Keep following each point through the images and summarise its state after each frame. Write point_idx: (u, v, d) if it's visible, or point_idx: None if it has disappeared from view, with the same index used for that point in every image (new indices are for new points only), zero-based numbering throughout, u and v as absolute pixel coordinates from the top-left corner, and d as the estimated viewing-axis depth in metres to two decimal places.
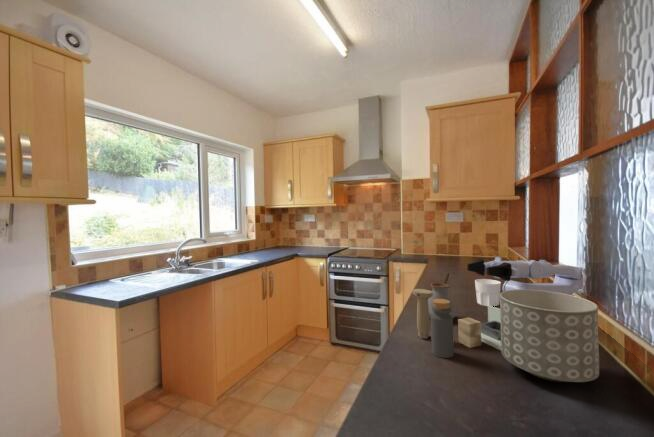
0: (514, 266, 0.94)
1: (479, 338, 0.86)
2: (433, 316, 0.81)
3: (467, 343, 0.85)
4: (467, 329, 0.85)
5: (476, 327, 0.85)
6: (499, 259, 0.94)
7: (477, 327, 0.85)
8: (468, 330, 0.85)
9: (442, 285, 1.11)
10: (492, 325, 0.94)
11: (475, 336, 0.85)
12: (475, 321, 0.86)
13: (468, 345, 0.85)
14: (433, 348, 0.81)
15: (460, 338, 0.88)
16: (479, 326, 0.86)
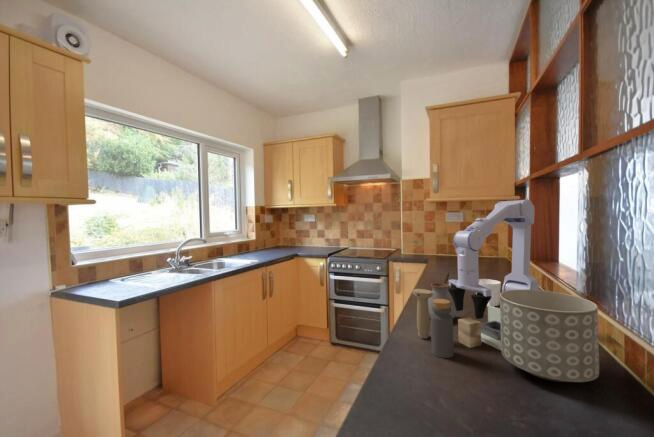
0: (471, 273, 0.84)
1: (479, 338, 0.86)
2: (433, 316, 0.81)
3: (467, 343, 0.85)
4: (467, 329, 0.85)
5: (476, 327, 0.85)
6: (461, 287, 0.85)
7: (477, 327, 0.85)
8: (468, 330, 0.85)
9: (442, 285, 1.11)
10: (492, 325, 0.94)
11: (475, 336, 0.85)
12: (475, 321, 0.86)
13: (468, 345, 0.85)
14: (433, 348, 0.81)
15: (460, 338, 0.88)
16: (479, 326, 0.86)
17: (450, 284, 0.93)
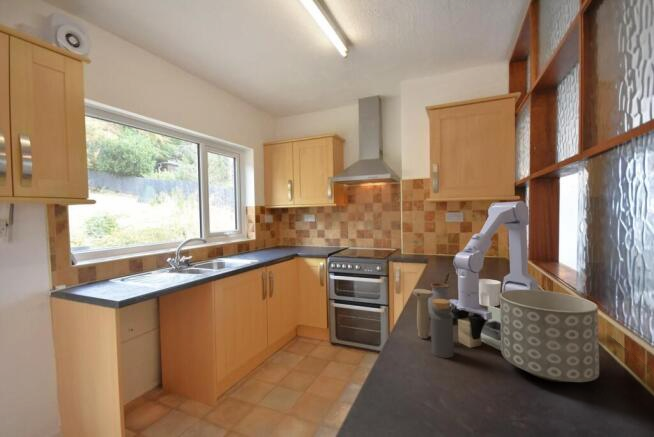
0: (471, 295, 0.84)
1: None
2: (433, 316, 0.81)
3: (467, 343, 0.85)
4: (467, 328, 0.85)
5: None
6: (461, 309, 0.85)
7: None
8: (468, 330, 0.85)
9: (442, 285, 1.11)
10: (492, 325, 0.94)
11: None
12: None
13: (468, 345, 0.85)
14: (433, 348, 0.81)
15: (460, 338, 0.88)
16: None
17: (450, 304, 0.93)
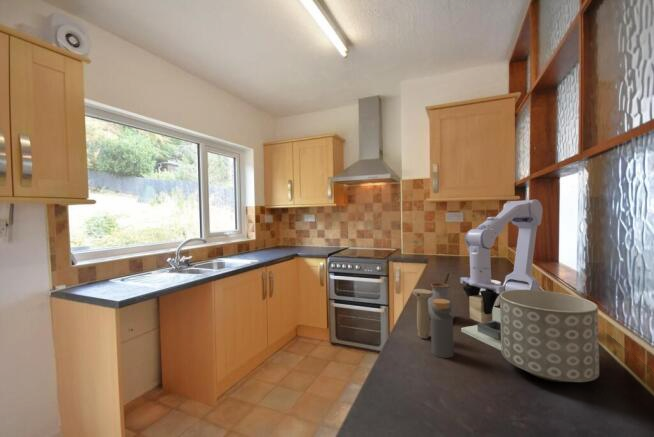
0: (483, 270, 0.86)
1: (490, 314, 0.87)
2: (433, 316, 0.81)
3: (479, 318, 0.87)
4: (479, 304, 0.86)
5: None
6: (474, 285, 0.87)
7: None
8: (479, 306, 0.86)
9: (442, 285, 1.11)
10: (492, 325, 0.94)
11: None
12: None
13: (480, 320, 0.86)
14: (433, 348, 0.81)
15: (471, 314, 0.89)
16: None
17: (462, 282, 0.94)
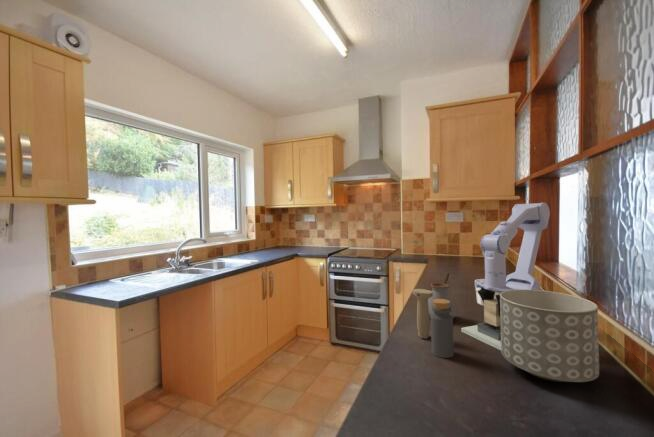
0: (499, 275, 0.88)
1: None
2: (433, 316, 0.81)
3: (494, 322, 0.88)
4: (494, 308, 0.88)
5: None
6: (489, 289, 0.89)
7: None
8: (494, 310, 0.88)
9: (442, 285, 1.11)
10: (492, 325, 0.94)
11: None
12: None
13: (494, 324, 0.88)
14: (433, 348, 0.81)
15: (486, 318, 0.91)
16: None
17: (476, 286, 0.96)
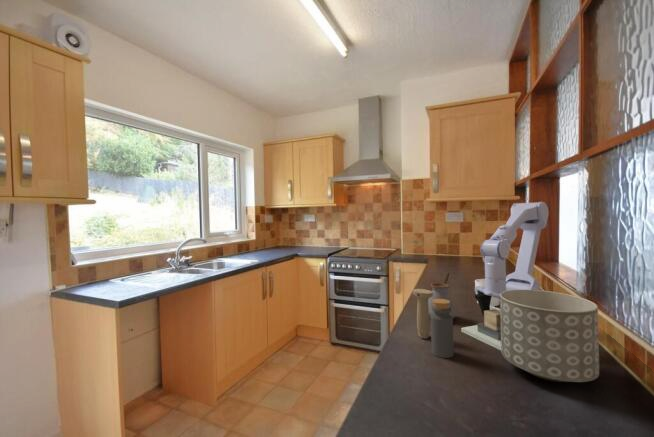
0: (499, 281, 0.88)
1: None
2: (433, 316, 0.81)
3: None
4: (494, 319, 0.88)
5: None
6: (489, 295, 0.89)
7: None
8: (494, 321, 0.88)
9: (442, 285, 1.11)
10: None
11: None
12: None
13: None
14: (433, 348, 0.81)
15: None
16: None
17: (476, 291, 0.96)
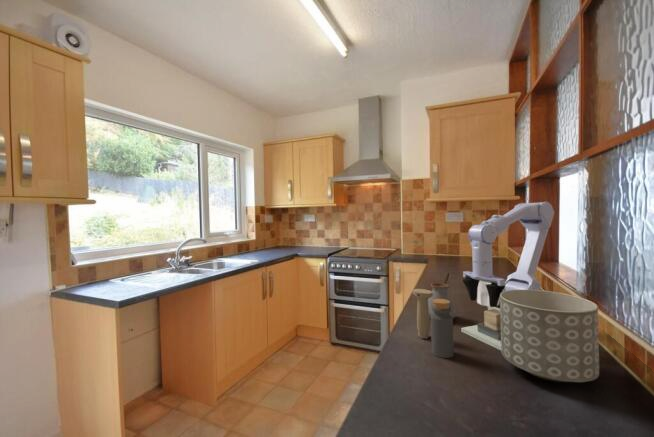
0: (485, 264, 0.90)
1: None
2: (433, 316, 0.81)
3: None
4: (494, 319, 0.88)
5: None
6: (476, 278, 0.91)
7: None
8: (494, 321, 0.88)
9: (442, 285, 1.11)
10: None
11: None
12: None
13: None
14: (433, 348, 0.81)
15: None
16: None
17: (464, 275, 0.99)
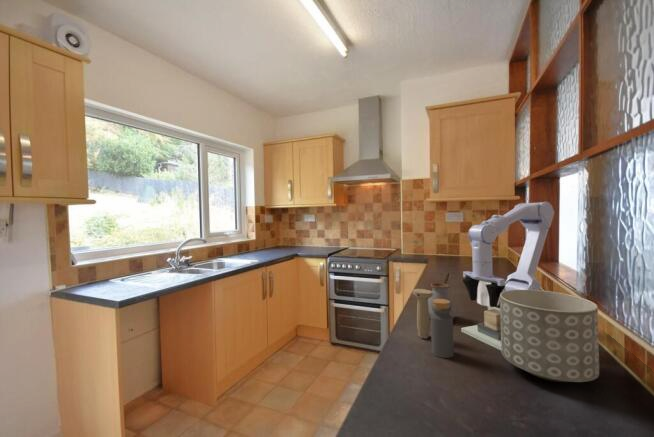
0: (485, 264, 0.90)
1: None
2: (433, 316, 0.81)
3: None
4: (494, 319, 0.88)
5: None
6: (476, 278, 0.91)
7: None
8: (494, 321, 0.88)
9: (442, 285, 1.11)
10: None
11: None
12: None
13: None
14: (433, 348, 0.81)
15: None
16: None
17: (464, 275, 0.99)
